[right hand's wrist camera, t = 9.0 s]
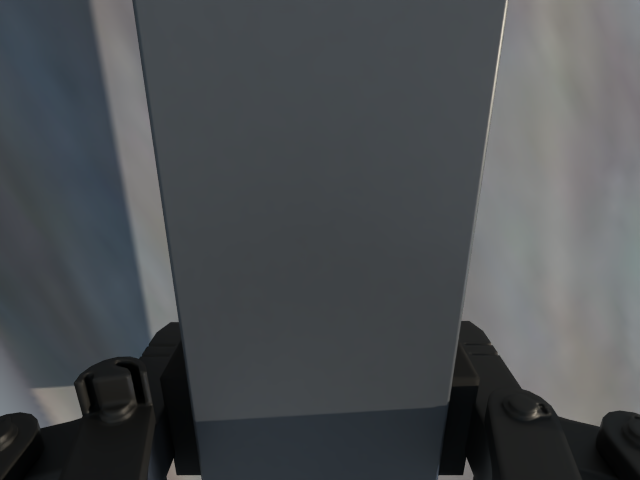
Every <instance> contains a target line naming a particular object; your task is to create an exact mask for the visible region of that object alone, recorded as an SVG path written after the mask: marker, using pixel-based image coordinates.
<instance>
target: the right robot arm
mask: <svg viewBox="0 0 640 480" xmlns="http://www.w3.org/2000/svg"><path fill="white" fill-rule="evenodd" d="M74 385H75V389H76V393H77V396H78V400H79V404H80V407H81V411H82V415H83V417H82V418H80V419H77V420H74V421H70V422H66V423H62V424H57V425H53V426H49V427H45V428H40V426H39V423H38V420H37V419H36V418H35V417H34V416H33V415H32V414H27V413H21V412H19V413H13V414H6V415H3V416H0V480H167V477H166V476H167V473H168V471H169V468H170V466H171V463H172V461H173V458H174V463H175V468H176V474H177V475H201V470H200V463H199V456H198V450H197V443H196V436H195V429H194V422H193V415H192V408H191V401H190V394H189V387H188V381H187V374H186V367H185V360H184V353H183V346H182V339H181V332H180V325H179V322H170V323H169V324H168V325H166V326H165V327H164V328H162V329H161V330H159V331H158V332H157V333H156V334H155V336H154V337H153V339H152V340H151V342H150V343H149V347H147V348H146V349H145V351H144V352H143V354H142V357H140V358H139V359H137V358H133V357H116V358H112V359H108V360H104V361H102V362H99V363H97V364H95V365H93V366H91V367H90V368H88V369H87V370H85V371H84V372H83V373H81V374H80V375H79V377H78V378H77V379H76V381H75V382H74ZM466 457H467V460H468V462H469V465H470V467H471V470H472V472H473V475H474V477H473V480H640V415H639V414H636V413H633V412H626V411H614V412H609V413H608V414H607V415H605V416H604V417H603V419H602V422H601V425H600V427H598V426H594V425H590V424H585V423H581V422H577V421H572V420H568V419H565V418H562V417H559V416H557V414H556V413H555V411H554V409H553V408H552V406H551V405H549V404H548V403H547V402H546V401H545V400H544V399H542V398H541V397H539V396H537V395H535V394H533V393H531V392H530V391H527V390H523V389H522V388H521V387H520V385H519V384H518V382H517V381H516V379H515V378H514V376H513V375H512V374H511V372H510V371H509V369H508V368H507V366H506V365H505V363H504V362H503V360H502V359H501V357H500V356H499V355H498V353H497V351H496V350H495V348H494V347H493V345H491V342H490V341H489V339H488V338H487V336H486V335H485V333H484V332H483V331H482V330H481V329H479V328H478V327H477V326H475V325H474V324H473V323H471V322H470V321H461V325H460V332H459V339H458V346H457V352H456V359H455V366H454V373H453V379H452V386H451V393H450V400H449V406H448V413H447V420H446V427H445V433H444V440H443V447H442V454H441V460H440V467H439V474H438V475H463V472H464V467H465V461H466Z"/></svg>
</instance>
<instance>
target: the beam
mask: <svg viewBox="0 0 640 480" xmlns="http://www.w3.org/2000/svg"><path fill="white" fill-rule="evenodd" d="M132 1H133V8H134V15H135V22H136V29H137V36H138V42H139V49H140V56H141V63H142V70H143V77H144V84H145V91H146V98H147V105H148V111H149V118H150V125H151V132H152V139H153V146H154V153H155V160H156V167H157V174H158V180H159V187H160V194H161V201H162V208H163V215H164V222H165V229H166V236H167V243H168V249H169V256H170V263H171V270H172V277H173V284H174V291H175V298H176V305H177V312H178V318H179V325H180V332H181V339H182V346H183V353H184V360H185V367H186V374H187V381H188V387H189V394H190V401H191V408H192V415H193V422H194V429H195V436H196V443H197V450H198V456H199V463H200V470H201V477H202V480H438V474H439V467H440V460H441V454H442V447H443V440H444V433H445V427H446V420H447V413H448V406H449V400H450V393H451V386H452V379H453V373H454V366H455V359H456V352H457V346H458V339H459V332H460V325H461V319H462V312H463V305H464V298H465V292H466V285H467V278H468V271H469V265H470V258H471V251H472V244H473V238H474V231H475V224H476V217H477V211H478V204H479V197H480V190H481V184H482V177H483V170H484V163H485V157H486V150H487V143H488V136H489V130H490V123H491V116H492V109H493V103H494V96H495V89H496V82H497V76H498V69H499V62H500V55H501V49H502V42H503V35H504V28H505V22H506V15H507V8H508V1H509V0H132Z"/></svg>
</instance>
